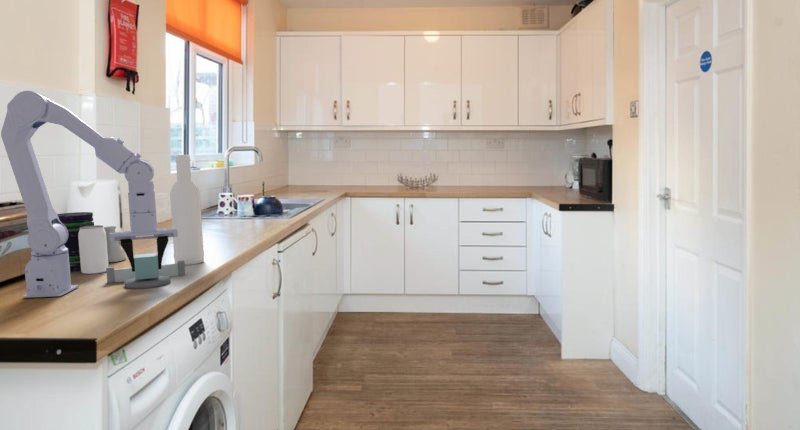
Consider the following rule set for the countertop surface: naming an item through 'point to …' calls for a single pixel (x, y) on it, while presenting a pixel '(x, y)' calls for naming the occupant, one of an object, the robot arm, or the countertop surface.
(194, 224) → the bottle
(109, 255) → the flask
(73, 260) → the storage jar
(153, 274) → the block
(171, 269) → the acrylic wall
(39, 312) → the countertop surface
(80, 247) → the can
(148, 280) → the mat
